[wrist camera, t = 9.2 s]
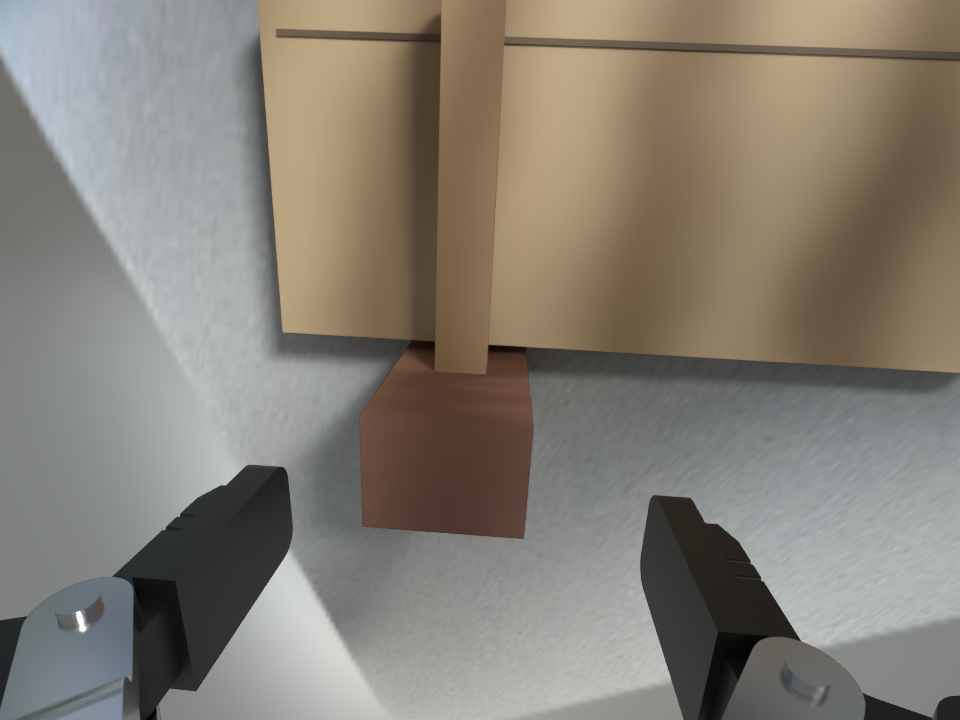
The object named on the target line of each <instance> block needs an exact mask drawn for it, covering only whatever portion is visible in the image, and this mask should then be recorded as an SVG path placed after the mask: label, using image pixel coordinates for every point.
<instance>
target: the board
mask: <svg viewBox="0 0 960 720" xmlns="http://www.w3.org/2000/svg"><path fill="white" fill-rule="evenodd" d="M257 3H258V16H259V30H260V43H261V56H262V69H263V82H264V95H265V108H266V121H267V134H268V148H269V161H270V174H271V187H272V200H273V213H274V226H275V239H276V252H277V266H278V279H279V292H280V305H281V318H282V331H283V332H288V333H304V334H321V335H337V336H354V337H371V338H387V339H404V340H420V341H435V328H436V276H437V224H438V172H439V121H440V69H441V17H442V0H257ZM488 345H503V346H520V347H537V348H553V349H570V350H586V351H603V352H620V353H636V354H653V355H669V356H686V357H703V358H719V359H736V360H752V361H769V362H786V363H802V364H819V365H835V366H852V367H869V368H885V369H902V370H918V371H935V372H952V373H960V0H507V3H506V22H505V40H504V59H503V78H502V97H501V116H500V135H499V154H498V173H497V192H496V211H495V229H494V248H493V267H492V286H491V305H490V324H489V343H488Z"/></svg>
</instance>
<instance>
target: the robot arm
mask: <svg viewBox="0 0 960 720" xmlns="http://www.w3.org/2000/svg"><path fill="white" fill-rule="evenodd" d="M292 532H293V525H292V514H291V504H290V493H289V483H288V475H287V472H286V470H285V468H283V467H275V466H261V465H248V466H246V467H245V468H244V469H243V470H241V471H240V472H239V473H238V475H236V476H235V477H234V478H233V479H232V480H231V481H230V482H229V483H228V484H227V485H226V486H222V485H221V486H219V487H217V488H215V489H213V490H212V491H210V492H208V493H206V494H204V495H202V496H200V497H198V498H197V499H196V500H195V501H194V502H193V503H192V504H190V505H189V506H188V507H187V508H186V509H185V510H184V511H183V512H182V513H181V514H180V517H176V518H175V519H174V520H173V521H172V522H171V523H170V524H169V525H168V526H167V527H166V530H165V531H164V530H162V531H161V532H160V533H159V534H158V535H157V536H156V537H155V538H154V539H153V540H151V541H150V542H149V543H148V544H147V545H146V546H145V547H144V548H143V549H142V550H141V551H140V552H138V554H136V555H135V556H134V557H133V558H132V559H131V560H130V561H129V562H128V563H127V564H125V565H124V566H123V567H122V568H121V569H120V570H119V571H118V572H117V573H116V574H115V575H114V576H112V577H101V578H95V579H90V580H86V581H83V582H80V583H77V584H74V585H72V586H69V587H67V588H65V589H63V590H61V591H59V592H57V593H55V594H53V595H52V596H50V597H49V598H47V599H46V600H44V601H43V602H42V603H40V604H39V605H38V606H37V607H36V608H35V609H34V610H33V611H32V612H31V613H30V614H29V615H28V616H26V617H20V618H13V619H7V620H1V621H0V720H161V714H160V709H159V703H160V701H161V700H162V698H163V697H164V695H165V694H166V693H167V691H168V690H169V689H170V688H171V689H180V690H190V691H196V690H197V689H198V688H199V686H200V684H201V683H202V682H203V680H204V679H205V677H206V676H207V674H208V672H209V671H210V669H211V668H212V666H213V665H214V663H215V662H216V660H217V659H218V657H219V655H220V654H221V653H222V651H223V650H224V648H225V647H226V645H227V644H228V642H229V641H230V639H231V638H232V636H233V635H234V633H235V632H236V630H237V628H238V627H239V626H240V624H241V622H242V621H243V620H244V618H245V616H246V615H247V613H248V612H249V610H250V609H251V607H252V606H253V604H254V603H255V601H256V600H257V598H258V597H259V595H260V594H261V592H262V591H263V589H264V588H265V586H266V585H267V583H268V582H269V580H270V579H271V577H272V576H273V574H274V573H275V571H276V570H277V568H278V567H279V565H280V564H281V562H282V560H283V559H284V557H285V556H286V554H287V552H288V549H289V547H290V543H291V539H292ZM750 562H751V561H750V559H749V558H748V556H747V554H746V553H745V551H744V550H743V548H742V547H741V545H740V543H739V542H738V541H737V540H736V539H735V538H733V537H732V536H731V535H730V534H729V533H727V532H726V531H725V530H724V529H723V528H721V527H720V526H719V525H718V524H707V523H705V522H704V520H703V518H702V516H701V515H700V513H699V511H698V509H697V508H696V506H695V504H694V502H693V501H692V499H690V498H685V497H671V496H658V495H653V496H652V498H651V500H650V503H649V508H648V514H647V521H646V527H645V533H644V539H643V545H642V552H641V560H640V571H641V581H642V586H643V590H644V593H645V596H646V599H647V603H648V606H649V609H650V612H651V615H652V619H653V622H654V625H655V628H656V632H657V635H658V638H659V641H660V644H661V648H662V651H663V654H664V657H665V661H666V664H667V667H668V670H669V673H670V677H671V680H672V683H673V686H674V689H675V693H676V696H677V699H678V702H679V706H680V709H681V712H682V715H683V719H684V720H960V696H950V697H947V698H944V699H943V700H941V701H940V702H939V704H938V706H937V709H936V710H935V713H934V715H933V718H931V717H928V716H925V715H922V714H919V713H916V712H913V711H910V710H907V709H904V708H901V707H898V706H896V705H893V704H890V703H887V702H884V701H881V700H878V699H876V698H873V697H871V696H868V695H866V694H864V693H862V691H861V689H860V687H859V686H858V684H857V683H856V681H855V680H854V678H853V677H852V676H851V675H850V674H849V672H848V671H847V670H846V669H845V668H843V667H842V666H841V665H840V664H839V663H838V662H836V661H835V660H834V659H833V658H831V657H830V656H828V655H827V654H825V653H824V652H822V651H821V650H819V649H817V648H815V647H813V646H811V645H809V644H806V643H804V642H801V640H800V639H799V637H798V635H797V634H796V632H795V631H794V629H793V627H792V626H791V624H790V623H789V621H788V620H787V618H786V616H785V615H784V613H783V612H782V610H781V608H780V607H779V605H778V604H777V602H776V600H775V599H774V597H773V596H772V594H771V593H770V591H769V589H768V588H767V586H766V585H765V583H764V582H762V581H761V577H760V575H759V574H758V572H757V570H756V569H755V567H754V566H753V565H751V563H750Z"/></svg>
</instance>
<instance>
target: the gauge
mask: <svg viewBox="0 0 960 720" xmlns="http://www.w3.org/2000/svg"><path fill="white" fill-rule="evenodd" d="M506 3H507V0H442V17H441V69H440V121H439V172H438V224H437V276H436V328H435V341H420V340H412V342H411V343H410V345H409V346H408V347H407V349H406V350H405V352H404V353H403V355H402V356H401V357H400V359H399V360H398V362H397V363H396V364H395V366H394V367H393V369H392V370H391V372H390V373H389V374H388V376H387V377H386V379H385V380H384V381H383V383H382V384H381V386H380V387H379V389H378V390H377V391H376V393H375V394H374V396H373V397H372V398H371V400H370V401H369V403H368V404H367V406H366V407H365V408H364V410H363V411H362V413H361V414H360V415H359V423H360V456H361V490H362V523H363V527H374V528H387V529H400V530H413V531H426V532H440V533H453V534H466V535H479V536H492V537H505V538H518V539H524V532H525V520H526V509H527V497H528V485H529V474H530V462H531V450H532V439H533V418H532V408H531V397H530V387H529V377H528V367H527V357H526V347H520V346H503V345H488V343H489V324H490V305H491V286H492V267H493V248H494V229H495V211H496V192H497V173H498V154H499V135H500V116H501V97H502V78H503V59H504V40H505V22H506Z"/></svg>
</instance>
